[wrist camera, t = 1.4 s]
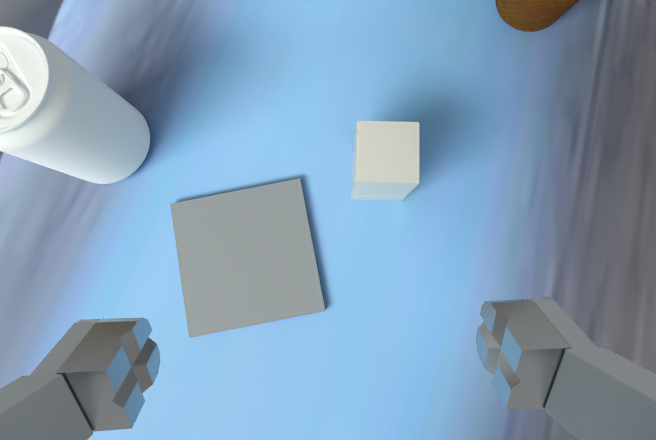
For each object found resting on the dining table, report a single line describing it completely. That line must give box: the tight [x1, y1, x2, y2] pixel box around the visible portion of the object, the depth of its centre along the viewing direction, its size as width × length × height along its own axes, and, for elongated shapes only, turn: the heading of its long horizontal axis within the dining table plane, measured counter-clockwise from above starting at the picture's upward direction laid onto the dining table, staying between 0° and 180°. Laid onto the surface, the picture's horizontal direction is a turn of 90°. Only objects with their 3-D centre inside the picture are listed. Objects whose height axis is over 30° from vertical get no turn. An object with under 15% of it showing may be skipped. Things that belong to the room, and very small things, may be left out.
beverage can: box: [0, 27, 150, 184], centre depth 28 cm, size 8×8×12 cm
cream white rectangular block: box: [351, 121, 419, 201], centre depth 30 cm, size 5×5×7 cm
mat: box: [170, 178, 325, 338], centre depth 32 cm, size 12×12×1 cm
